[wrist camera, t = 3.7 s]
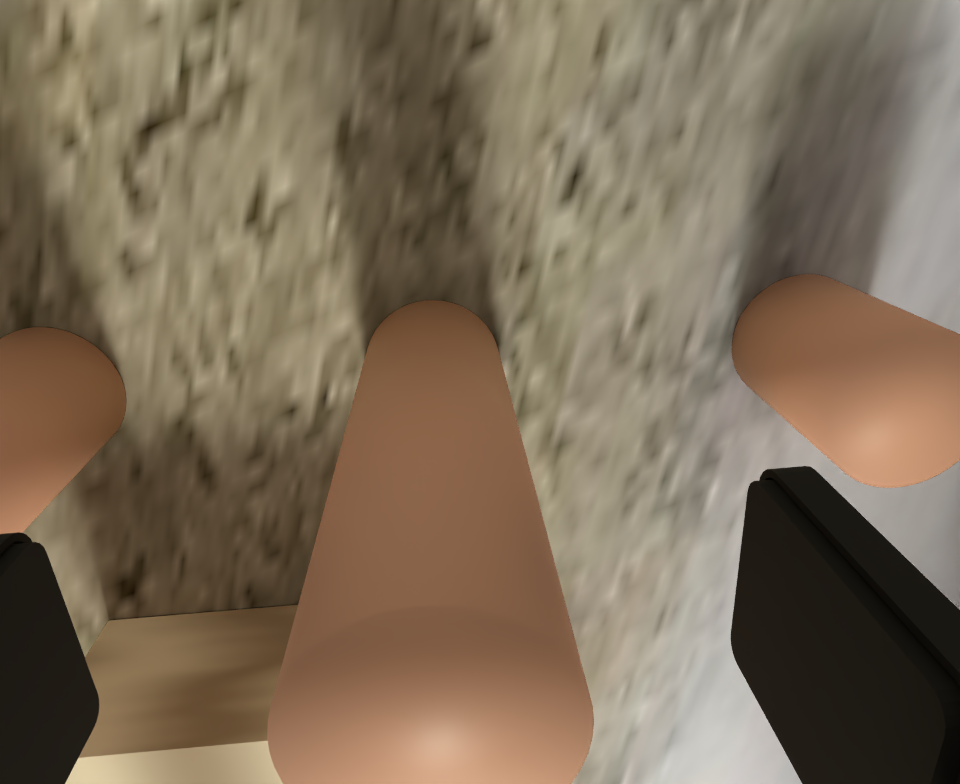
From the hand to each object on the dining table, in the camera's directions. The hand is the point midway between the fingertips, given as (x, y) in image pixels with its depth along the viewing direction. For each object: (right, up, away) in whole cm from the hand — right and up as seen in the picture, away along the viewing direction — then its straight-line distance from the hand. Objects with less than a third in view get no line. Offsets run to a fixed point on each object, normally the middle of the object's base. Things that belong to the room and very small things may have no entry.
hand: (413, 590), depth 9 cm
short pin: (+10, +4, +10) cm, 14 cm away
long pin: (0, +3, +9) cm, 10 cm away
